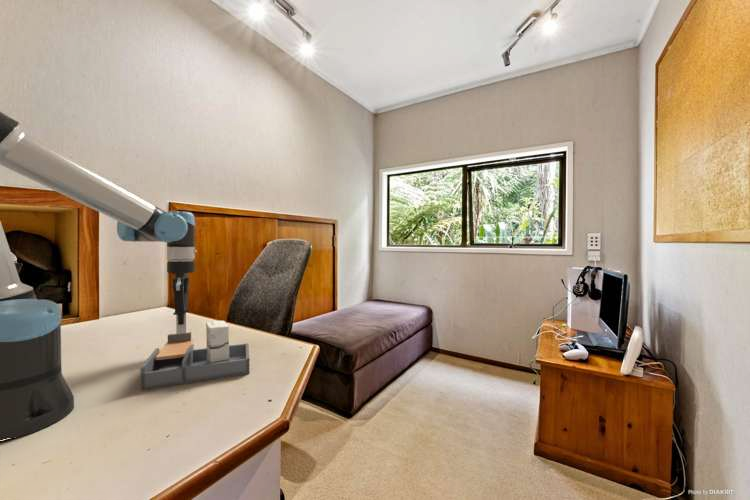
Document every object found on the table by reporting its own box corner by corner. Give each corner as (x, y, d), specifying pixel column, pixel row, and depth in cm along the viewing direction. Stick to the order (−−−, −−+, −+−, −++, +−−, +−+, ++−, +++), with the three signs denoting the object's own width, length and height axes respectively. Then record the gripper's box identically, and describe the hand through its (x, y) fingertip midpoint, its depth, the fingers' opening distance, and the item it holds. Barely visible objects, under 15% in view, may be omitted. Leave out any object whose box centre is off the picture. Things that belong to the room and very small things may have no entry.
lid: (155, 360, 81) (155, 348, 81) (166, 344, 93) (166, 334, 93) (186, 356, 84) (186, 345, 84) (193, 341, 96) (193, 331, 96)
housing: (141, 390, 73) (140, 367, 73) (156, 368, 86) (155, 348, 86) (249, 373, 83) (249, 353, 82) (248, 355, 95) (248, 338, 95)
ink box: (230, 368, 84) (229, 325, 83) (209, 372, 81) (209, 328, 80) (224, 358, 91) (224, 319, 90) (205, 362, 88) (205, 321, 87)
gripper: (191, 261, 93) (192, 338, 93) (197, 259, 105) (197, 327, 105) (162, 261, 90) (163, 341, 90) (171, 259, 102) (172, 329, 102)
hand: (181, 333), depth 98 cm, fingers closed
